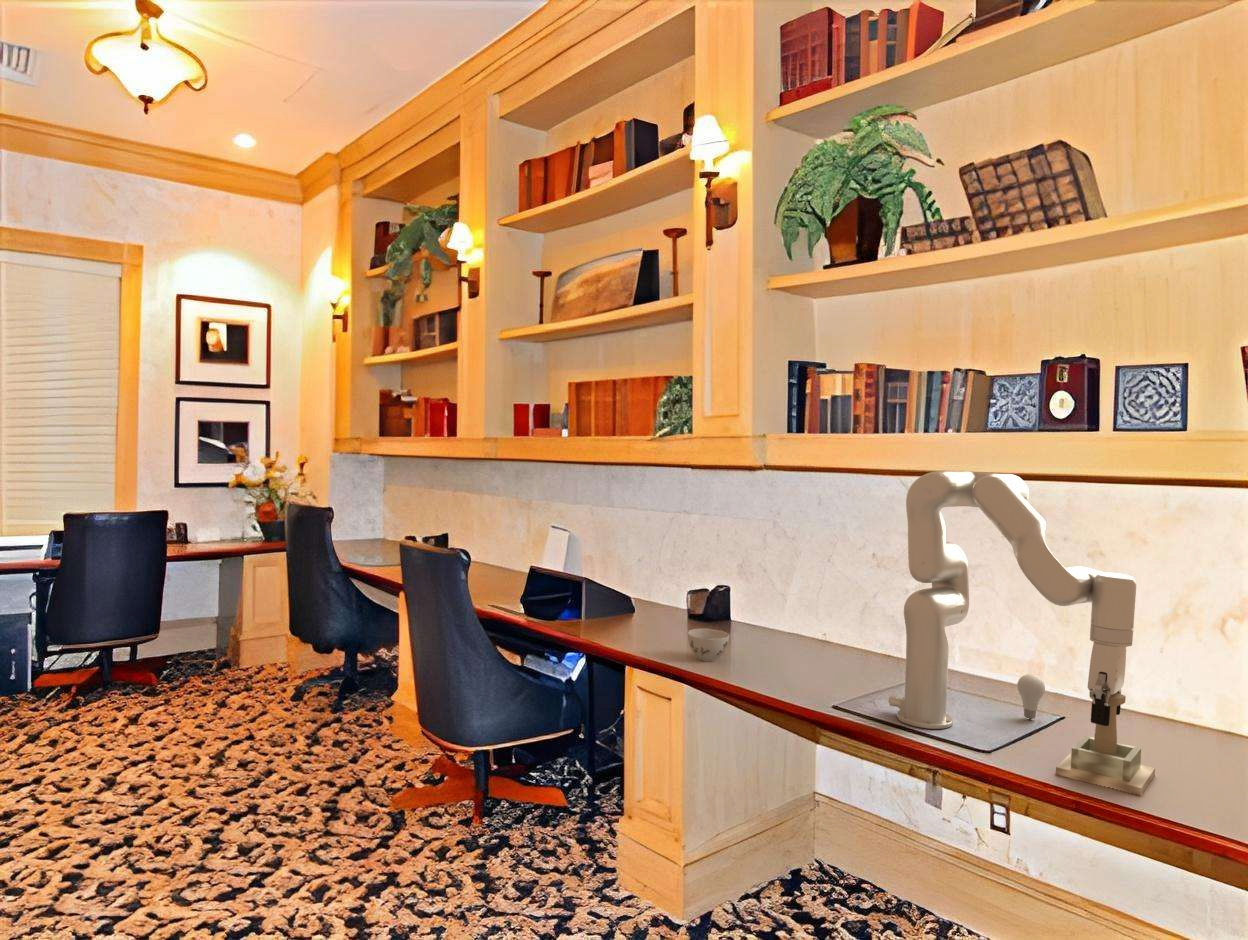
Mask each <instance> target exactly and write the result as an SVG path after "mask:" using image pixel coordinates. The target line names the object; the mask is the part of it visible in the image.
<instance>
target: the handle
mask: <svg viewBox="0 0 1248 940" xmlns="http://www.w3.org/2000/svg"><path fill="white" fill-rule="evenodd" d="M1094 691H1095V688H1094V689H1093V690H1092V691H1090V690H1089V692H1088V693H1089V695H1088V696H1089V698H1090V699H1091V700H1092V699H1093V695H1094ZM1105 699H1106V695H1105ZM1126 700H1127V699H1126V695H1125V694H1122V693H1121V694H1119V693H1115V694H1113V695H1111V697H1110V701H1109V706H1110V720H1109V725H1108V726H1103V725H1099V724H1095V730H1094V738H1095V739H1094V740H1095V741H1094V743H1095V744H1094V746H1095V752H1099V753H1103V754H1108V755H1112V756H1116V750H1117V743H1118V734H1117V732H1118V729H1117V715H1116V709H1117V706H1119V705H1121V706H1122V705H1124V704H1125V703H1126Z"/></svg>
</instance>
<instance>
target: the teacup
mask: <svg viewBox="0 0 1248 940" xmlns="http://www.w3.org/2000/svg"><path fill="white" fill-rule="evenodd" d="M687 638H688V644H689V646H690V647H689V648H690V650H691V651H692V653H693V654H694V656H695V657H696V658H697V659H698V660H700V661H703V662H715V661H717V660H718V659H719V658H720V657H721V656H723V654H725V651H726V649H727V647H728V645H729V642H730V634H729V633H727V632H726V631H724V630H717V629H712V628H694V629H690V630H688V632H687Z"/></svg>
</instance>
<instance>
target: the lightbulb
mask: <svg viewBox="0 0 1248 940" xmlns="http://www.w3.org/2000/svg"><path fill="white" fill-rule="evenodd" d="M1016 686H1017V687H1016V688H1017V692H1018V693H1019V695H1020V697H1021V700H1022V706H1023V716H1024V717H1025V718H1026V719H1027V718H1029V719H1032V720H1033V719H1036V716H1037V710H1038V707H1039V706H1038V705H1039V702H1040V700H1041V699H1042V697H1043V695H1044V694H1045V693H1046V686H1045V683H1044V681H1043V679H1042V678H1041V677H1039V676H1038V675H1035V674H1032V673H1031V674H1030V673H1028V674H1024V675H1022V676H1021V677H1019V679H1018V681H1017V684H1016ZM1029 719H1028V720H1029Z"/></svg>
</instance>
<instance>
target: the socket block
mask: <svg viewBox="0 0 1248 940" xmlns="http://www.w3.org/2000/svg"><path fill="white" fill-rule="evenodd" d="M1094 739H1095V737H1093V736H1088V735H1084V736H1082V737H1081V738H1080V739H1079V741H1077V742H1076V743H1075V744H1074V745H1073V746H1071V752H1070V753H1068V755H1067V756H1065V757H1064V758H1063V760H1062V761H1060V763H1058V764H1057V765H1056V766H1055V775H1058V776H1061V777H1065V778H1069V779H1073V780H1076V781H1081V782H1085V783H1088V784H1092V785H1096V784H1097V785H1096V786H1100V785H1101V786H1100V787H1104V786H1105V787H1104V788H1108V787H1110V788H1109V789H1112V788H1114V789H1113V790H1116V789H1118V790H1117V791H1120V790H1123V791H1122V792H1124V791H1126V792H1125V793H1128V792H1130V793H1129V794H1132V793H1133V795H1136V794H1137V795H1136V796H1140V795H1141V796H1142V795H1143V793H1144V792H1145V791H1146V789H1147V787H1148V786H1149V785H1150V783H1151V782H1152V780H1153V779H1154V777H1155V775H1156V768H1155V767H1152V766H1147V765H1143V764H1141V761H1142V747H1138V746H1134V745H1129V744H1124V743H1120V742H1117V750H1116V756H1112V755H1108V754H1103V753H1099V752H1095V746H1094V744H1095V743H1094V741H1095V740H1094Z"/></svg>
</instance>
